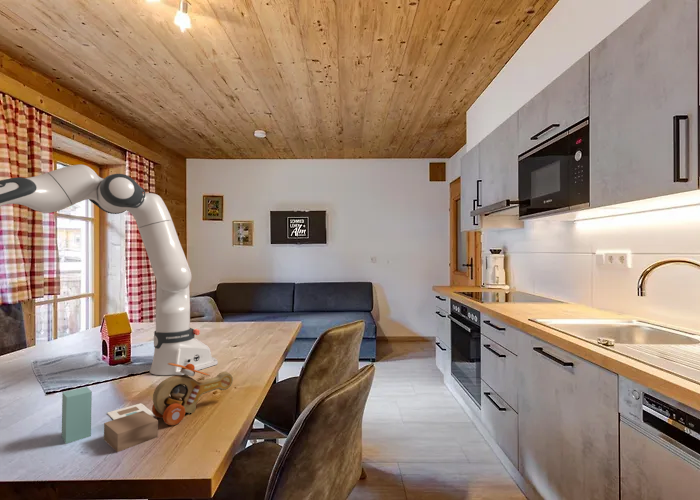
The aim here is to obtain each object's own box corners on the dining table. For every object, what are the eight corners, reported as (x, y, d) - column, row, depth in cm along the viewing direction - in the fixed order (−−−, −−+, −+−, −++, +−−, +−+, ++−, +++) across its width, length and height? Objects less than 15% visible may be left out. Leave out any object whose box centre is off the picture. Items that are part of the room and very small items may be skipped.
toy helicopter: (146, 420, 88) (147, 364, 88) (223, 395, 104) (223, 348, 104) (160, 430, 83) (161, 371, 83) (239, 402, 99) (239, 353, 99)
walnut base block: (142, 427, 85) (142, 410, 85) (157, 438, 80) (157, 420, 80) (103, 441, 79) (104, 422, 79) (117, 453, 74) (117, 434, 74)
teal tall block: (85, 429, 83) (86, 386, 83) (90, 436, 80) (91, 391, 80) (61, 436, 80) (62, 392, 80) (65, 443, 77) (66, 397, 77)
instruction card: (141, 403, 97) (141, 402, 97) (156, 416, 90) (156, 415, 90) (107, 413, 92) (107, 412, 92) (120, 427, 84) (120, 426, 84)
